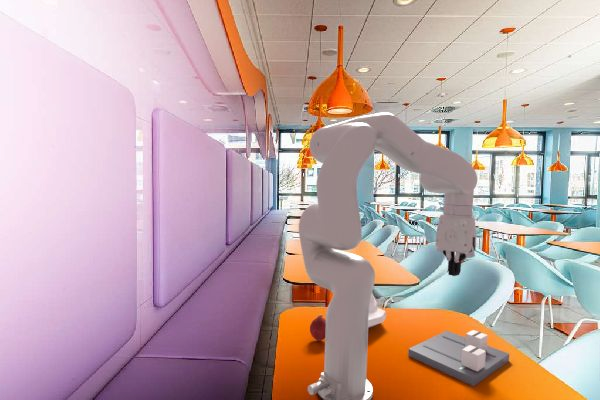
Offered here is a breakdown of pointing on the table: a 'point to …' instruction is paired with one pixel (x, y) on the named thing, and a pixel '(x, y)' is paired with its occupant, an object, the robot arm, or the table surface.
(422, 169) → the robot arm
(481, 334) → the fader
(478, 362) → the fader
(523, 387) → the table surface
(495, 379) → the table surface
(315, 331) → the onion
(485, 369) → the console
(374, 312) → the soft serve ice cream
